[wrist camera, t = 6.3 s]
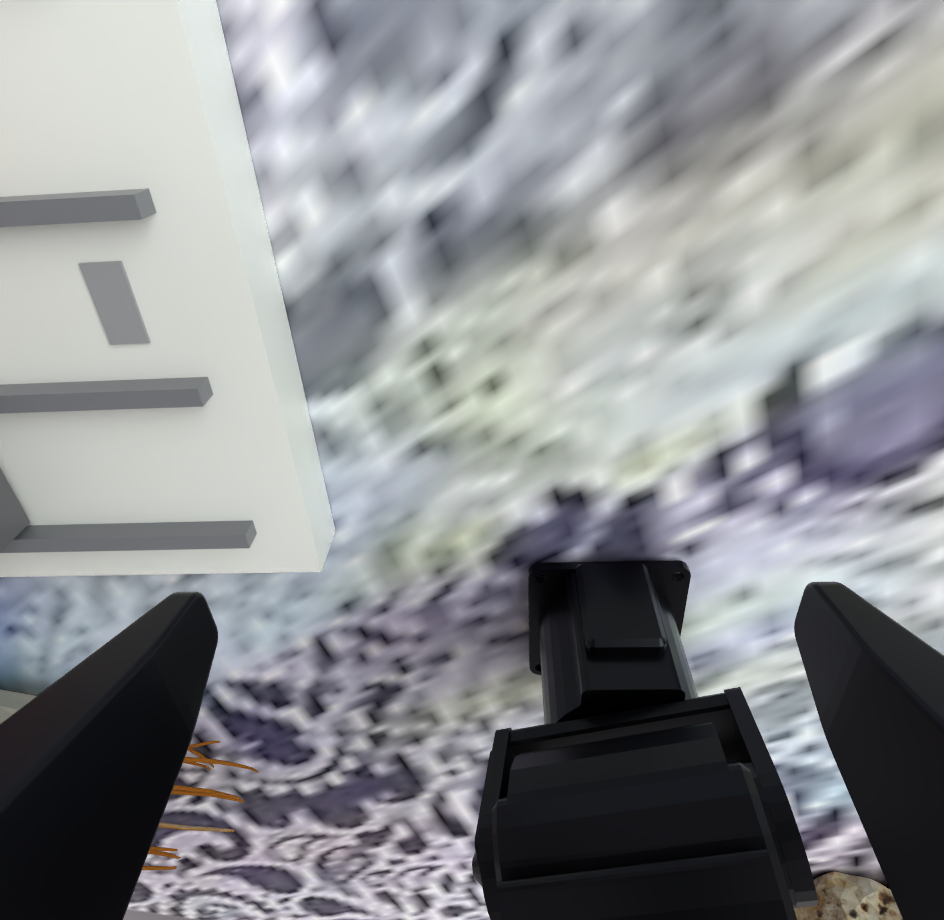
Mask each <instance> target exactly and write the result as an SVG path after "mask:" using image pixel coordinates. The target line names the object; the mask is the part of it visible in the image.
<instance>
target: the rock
mask: <svg viewBox="0 0 944 920" xmlns="http://www.w3.org/2000/svg"><path fill="white" fill-rule="evenodd" d="M813 880H814V884H815V888H816V893H817V899H818V906H809V907H800V908H794V911H795V914H796V917H797V920H903V918H902V916H901V914H900V911H899V909H898V907H897V904H896V902H895V900H894V897H893V895H892V893H891V890H890V889H888V888H886V887H885V886H883V885H882V884H880V883H878V882H876V881H874V880H872V879H870V878H865V877H859V876H853V875H847V874H843V873H839V872H836V871H833V872H830V873H827V874H824V875H822V876H820V877H817V878H815V879H813Z"/></svg>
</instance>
